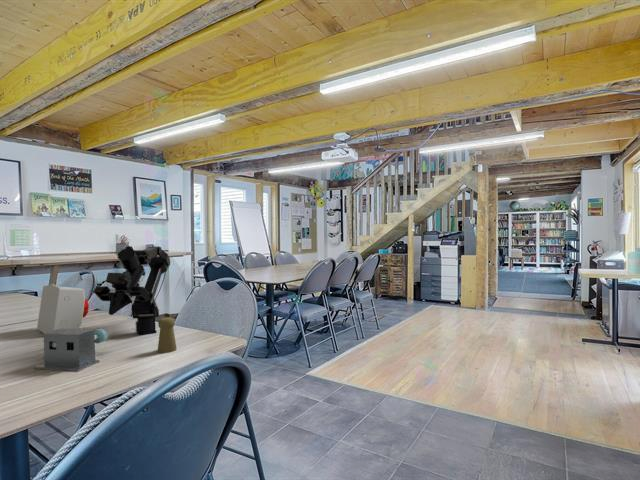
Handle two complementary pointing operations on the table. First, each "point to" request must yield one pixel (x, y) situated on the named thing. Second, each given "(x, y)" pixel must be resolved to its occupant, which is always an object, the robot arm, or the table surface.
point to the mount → (69, 350)
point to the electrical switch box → (61, 308)
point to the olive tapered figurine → (166, 335)
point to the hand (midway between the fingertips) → (110, 314)
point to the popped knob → (100, 335)
